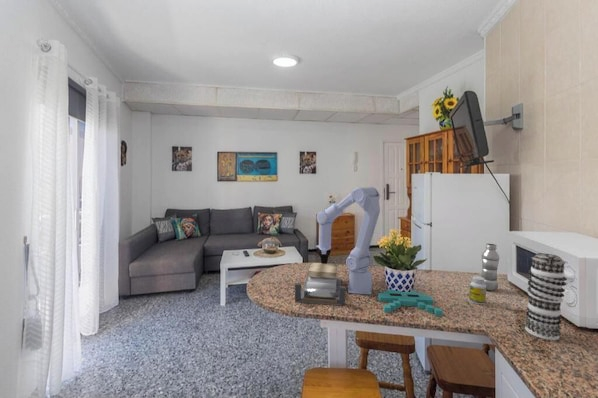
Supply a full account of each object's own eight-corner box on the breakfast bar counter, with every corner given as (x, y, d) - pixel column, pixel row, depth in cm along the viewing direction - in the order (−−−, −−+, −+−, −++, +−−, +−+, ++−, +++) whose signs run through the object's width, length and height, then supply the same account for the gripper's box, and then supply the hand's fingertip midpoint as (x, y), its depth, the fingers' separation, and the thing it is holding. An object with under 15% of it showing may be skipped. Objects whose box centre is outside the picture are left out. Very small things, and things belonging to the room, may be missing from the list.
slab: (336, 269, 135) (337, 264, 135) (336, 278, 123) (336, 272, 123) (311, 268, 137) (311, 262, 137) (308, 276, 125) (308, 270, 125)
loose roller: (304, 300, 113) (304, 291, 111) (305, 294, 116) (305, 285, 115) (335, 302, 111) (335, 293, 110) (335, 296, 115) (335, 287, 113)
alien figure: (442, 317, 102) (423, 294, 122) (442, 311, 102) (424, 289, 122) (384, 313, 104) (375, 291, 124) (384, 307, 104) (375, 286, 124)
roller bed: (344, 279, 136) (344, 266, 136) (344, 305, 108) (345, 288, 108) (303, 276, 139) (304, 263, 138) (294, 301, 111) (295, 285, 111)
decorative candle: (542, 341, 87) (549, 259, 85) (516, 325, 96) (522, 251, 94) (569, 340, 88) (577, 259, 86) (541, 324, 97) (547, 251, 95)
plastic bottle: (494, 293, 123) (498, 247, 121) (476, 288, 128) (479, 244, 126) (499, 290, 127) (503, 245, 125) (482, 285, 132) (485, 242, 130)
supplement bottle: (465, 300, 116) (467, 276, 115) (475, 298, 117) (477, 274, 117) (478, 305, 110) (480, 280, 110) (488, 303, 112) (490, 279, 112)
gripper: (317, 233, 144) (317, 260, 145) (315, 239, 130) (314, 269, 131) (332, 234, 143) (331, 261, 144) (330, 240, 129) (330, 270, 130)
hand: (324, 265), depth 138 cm, fingers closed
